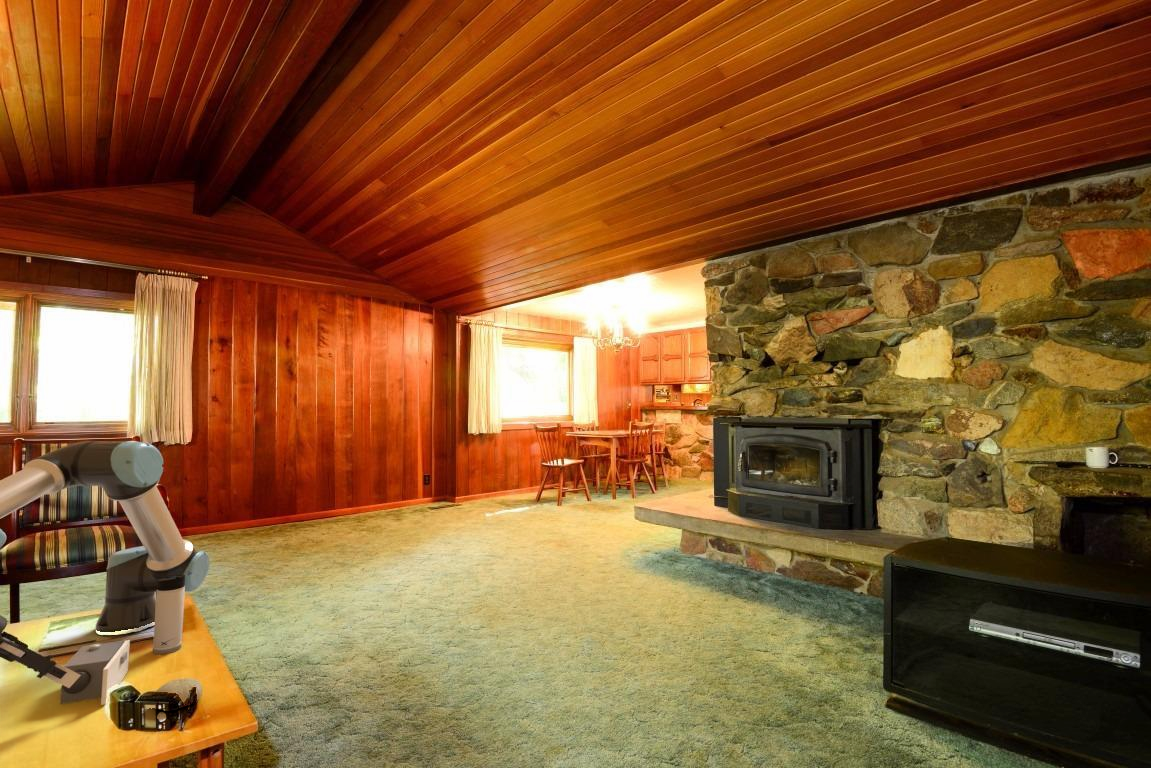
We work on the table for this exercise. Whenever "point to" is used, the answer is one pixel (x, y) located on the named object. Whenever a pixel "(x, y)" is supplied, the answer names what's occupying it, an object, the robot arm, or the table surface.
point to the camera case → (88, 671)
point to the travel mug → (169, 614)
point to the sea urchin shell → (182, 687)
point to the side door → (115, 670)
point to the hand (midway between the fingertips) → (73, 680)
